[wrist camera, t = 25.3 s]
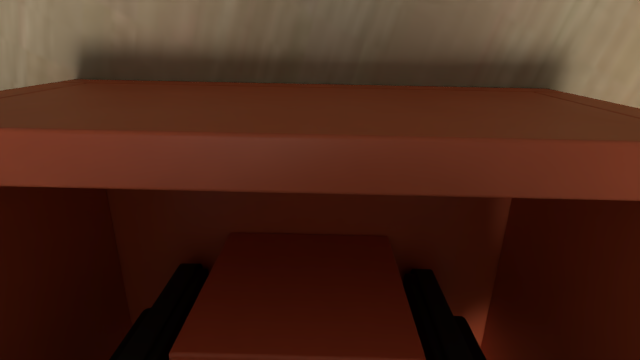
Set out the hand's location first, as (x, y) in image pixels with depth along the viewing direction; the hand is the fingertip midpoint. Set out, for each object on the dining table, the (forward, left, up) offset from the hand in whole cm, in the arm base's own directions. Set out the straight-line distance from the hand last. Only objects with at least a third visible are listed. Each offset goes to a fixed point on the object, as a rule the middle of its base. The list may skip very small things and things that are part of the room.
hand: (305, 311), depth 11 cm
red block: (0, 0, -1) cm, 1 cm away
